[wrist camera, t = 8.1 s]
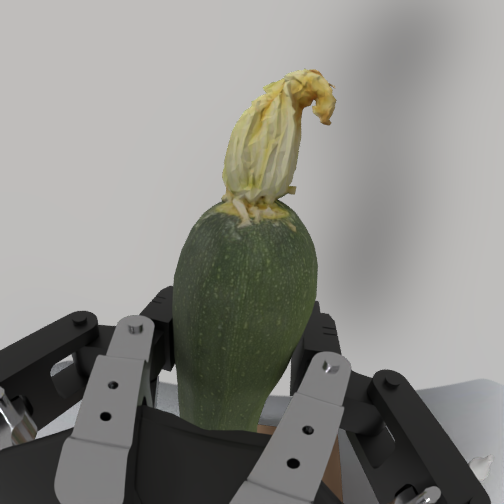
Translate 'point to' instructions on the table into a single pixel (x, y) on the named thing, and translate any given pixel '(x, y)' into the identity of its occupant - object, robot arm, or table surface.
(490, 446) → the table surface
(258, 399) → the vegetable
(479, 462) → the eye dropper bottle
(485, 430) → the table surface
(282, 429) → the robot arm
